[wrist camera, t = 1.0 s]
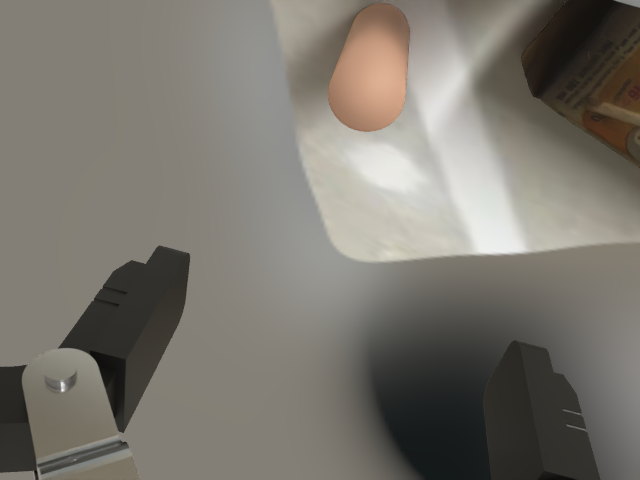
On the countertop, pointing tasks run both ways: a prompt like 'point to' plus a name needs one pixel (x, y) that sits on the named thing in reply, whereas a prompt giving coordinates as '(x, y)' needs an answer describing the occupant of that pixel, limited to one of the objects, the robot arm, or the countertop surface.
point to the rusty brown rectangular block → (591, 71)
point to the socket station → (631, 2)
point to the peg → (372, 70)
